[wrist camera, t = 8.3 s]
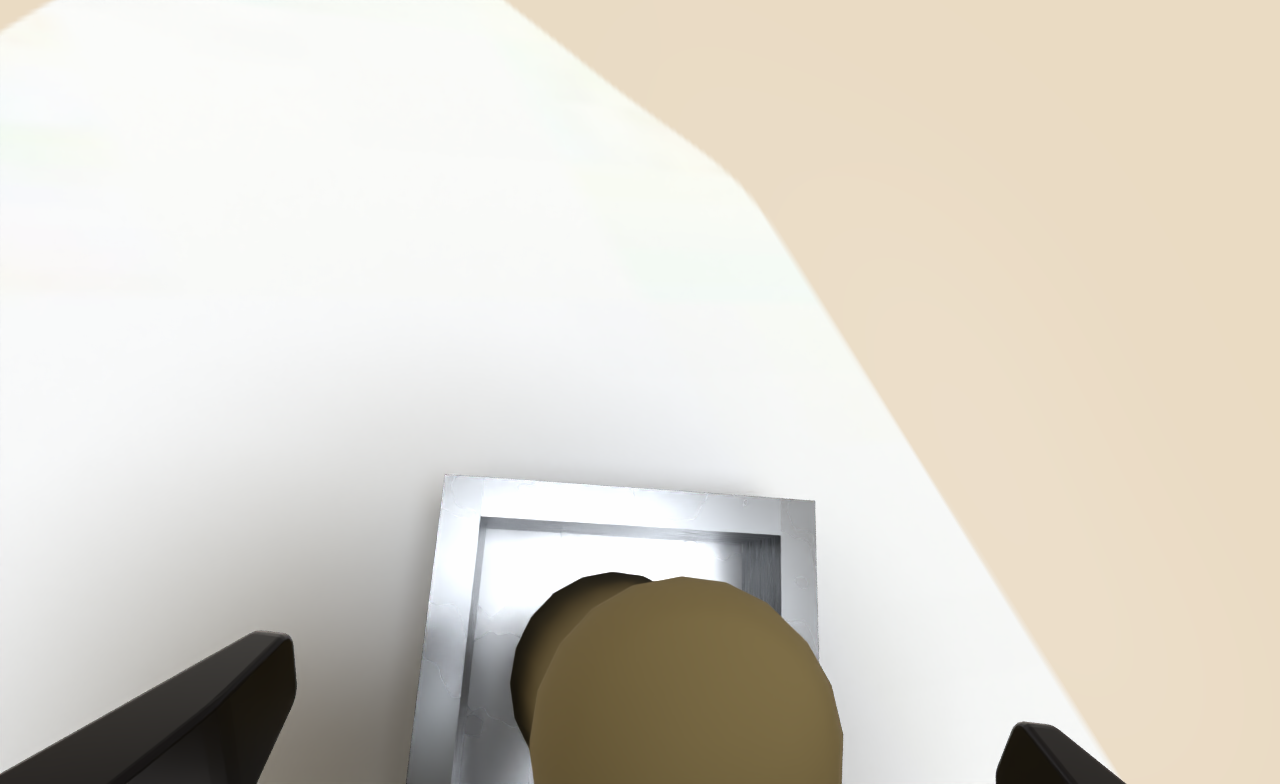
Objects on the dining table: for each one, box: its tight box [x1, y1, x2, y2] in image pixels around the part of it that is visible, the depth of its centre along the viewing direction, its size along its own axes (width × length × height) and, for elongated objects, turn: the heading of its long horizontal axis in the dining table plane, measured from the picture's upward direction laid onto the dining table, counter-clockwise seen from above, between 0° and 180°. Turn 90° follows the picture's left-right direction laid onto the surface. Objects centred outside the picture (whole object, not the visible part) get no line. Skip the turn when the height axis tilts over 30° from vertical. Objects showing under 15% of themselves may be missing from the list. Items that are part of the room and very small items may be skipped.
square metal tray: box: [406, 474, 819, 784], centre depth 19 cm, size 10×10×4 cm
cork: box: [510, 571, 843, 784], centre depth 15 cm, size 6×6×11 cm
